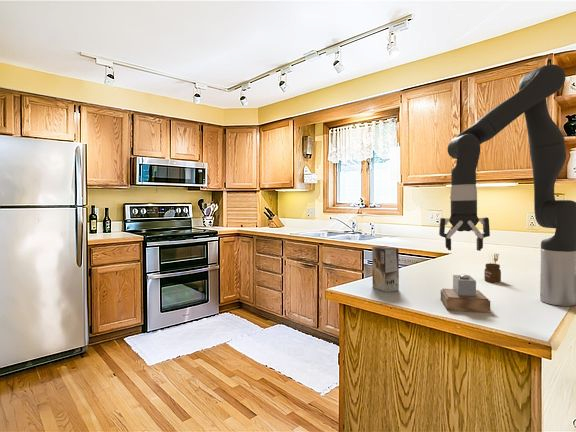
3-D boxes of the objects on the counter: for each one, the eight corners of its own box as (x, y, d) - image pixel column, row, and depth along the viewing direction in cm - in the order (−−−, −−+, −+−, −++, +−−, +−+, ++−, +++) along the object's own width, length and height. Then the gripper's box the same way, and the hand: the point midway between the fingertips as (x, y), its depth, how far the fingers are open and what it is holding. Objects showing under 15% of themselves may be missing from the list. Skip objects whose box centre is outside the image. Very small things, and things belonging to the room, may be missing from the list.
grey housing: (475, 297, 109) (476, 278, 108) (458, 296, 110) (458, 277, 110) (469, 290, 116) (469, 273, 116) (452, 290, 118) (453, 272, 117)
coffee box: (399, 290, 134) (399, 248, 133) (385, 292, 131) (385, 249, 131) (385, 285, 142) (384, 245, 142) (371, 287, 140) (371, 246, 139)
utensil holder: (496, 279, 149) (496, 251, 149) (504, 283, 143) (504, 253, 142) (481, 279, 150) (482, 251, 149) (488, 283, 143) (488, 253, 143)
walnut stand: (479, 301, 118) (479, 289, 117) (490, 312, 106) (490, 299, 106) (440, 299, 121) (440, 288, 120) (446, 310, 109) (447, 297, 109)
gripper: (441, 200, 110) (441, 251, 111) (492, 198, 107) (492, 252, 107) (437, 199, 117) (438, 248, 118) (485, 198, 114) (485, 248, 114)
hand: (464, 250), depth 113 cm, fingers open, 8 cm apart
